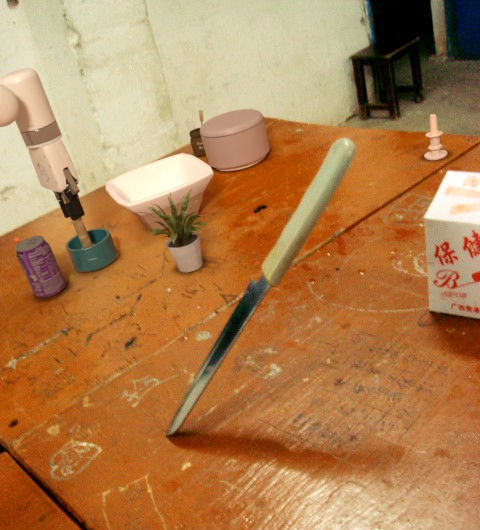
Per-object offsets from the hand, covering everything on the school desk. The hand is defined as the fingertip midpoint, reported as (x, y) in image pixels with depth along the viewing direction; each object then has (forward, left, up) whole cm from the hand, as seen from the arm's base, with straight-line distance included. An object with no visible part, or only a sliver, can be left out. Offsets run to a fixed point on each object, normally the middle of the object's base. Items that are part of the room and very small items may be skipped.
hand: (75, 215), depth 139 cm
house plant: (+9, -23, -13) cm, 28 cm away
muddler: (0, 0, -9) cm, 9 cm away
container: (+57, +13, -13) cm, 60 cm away
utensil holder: (+58, +31, -13) cm, 67 cm away
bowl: (+24, +3, -13) cm, 27 cm away
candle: (+73, -40, -13) cm, 84 cm away
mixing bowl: (+1, +1, -12) cm, 12 cm away
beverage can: (-12, -1, -13) cm, 17 cm away
